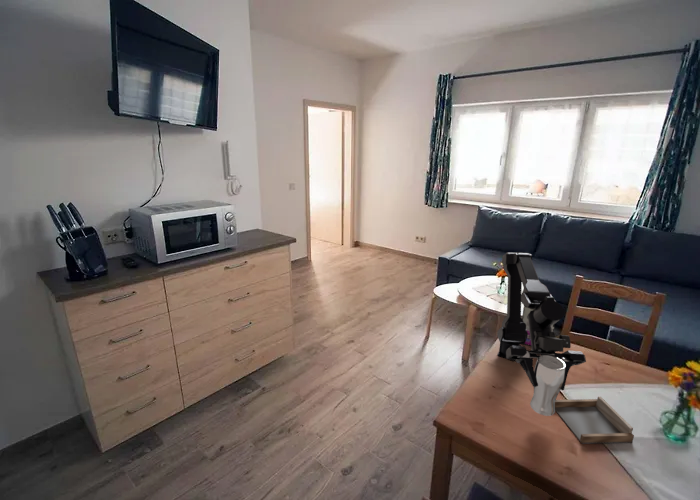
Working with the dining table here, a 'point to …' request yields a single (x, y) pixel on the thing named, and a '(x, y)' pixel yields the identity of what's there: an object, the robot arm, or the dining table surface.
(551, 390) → the silver metal cup
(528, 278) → the robot arm
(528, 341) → the candy bar box
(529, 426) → the dining table surface
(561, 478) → the dining table surface
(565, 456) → the dining table surface
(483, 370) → the dining table surface
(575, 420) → the wooden tray
